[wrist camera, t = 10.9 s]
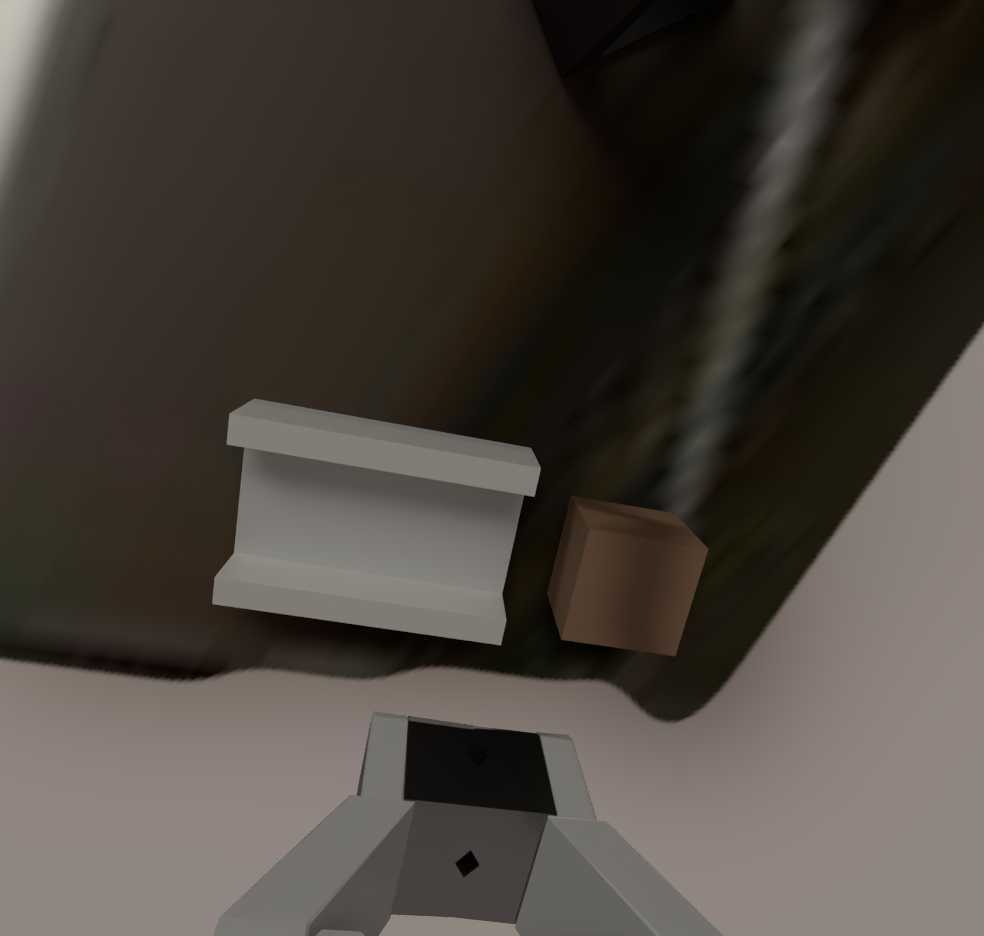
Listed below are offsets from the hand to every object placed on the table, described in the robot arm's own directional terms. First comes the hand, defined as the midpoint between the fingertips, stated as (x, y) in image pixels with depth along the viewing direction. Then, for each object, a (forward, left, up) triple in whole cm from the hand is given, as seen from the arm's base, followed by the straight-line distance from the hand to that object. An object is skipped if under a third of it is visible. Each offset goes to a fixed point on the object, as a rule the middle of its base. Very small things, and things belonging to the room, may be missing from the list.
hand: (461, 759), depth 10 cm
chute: (-3, -6, -26) cm, 27 cm away
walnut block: (+10, -6, -25) cm, 28 cm away
